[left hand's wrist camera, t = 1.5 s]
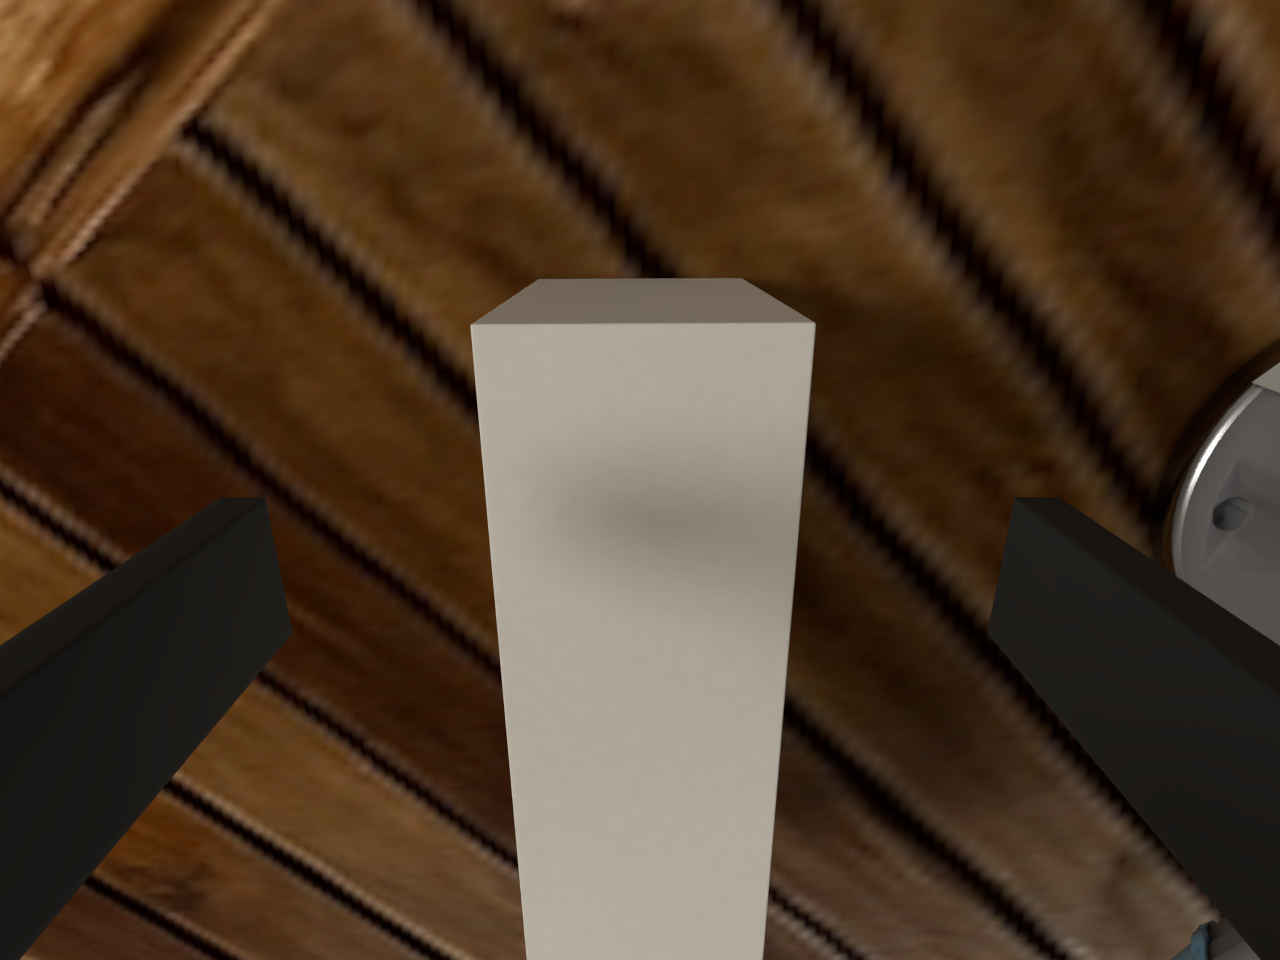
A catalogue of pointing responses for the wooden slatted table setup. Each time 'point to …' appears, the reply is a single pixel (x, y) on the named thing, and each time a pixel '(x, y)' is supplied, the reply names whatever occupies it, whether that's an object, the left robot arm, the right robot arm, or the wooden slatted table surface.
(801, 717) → the wooden slatted table surface
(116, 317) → the wooden slatted table surface
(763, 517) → the box
